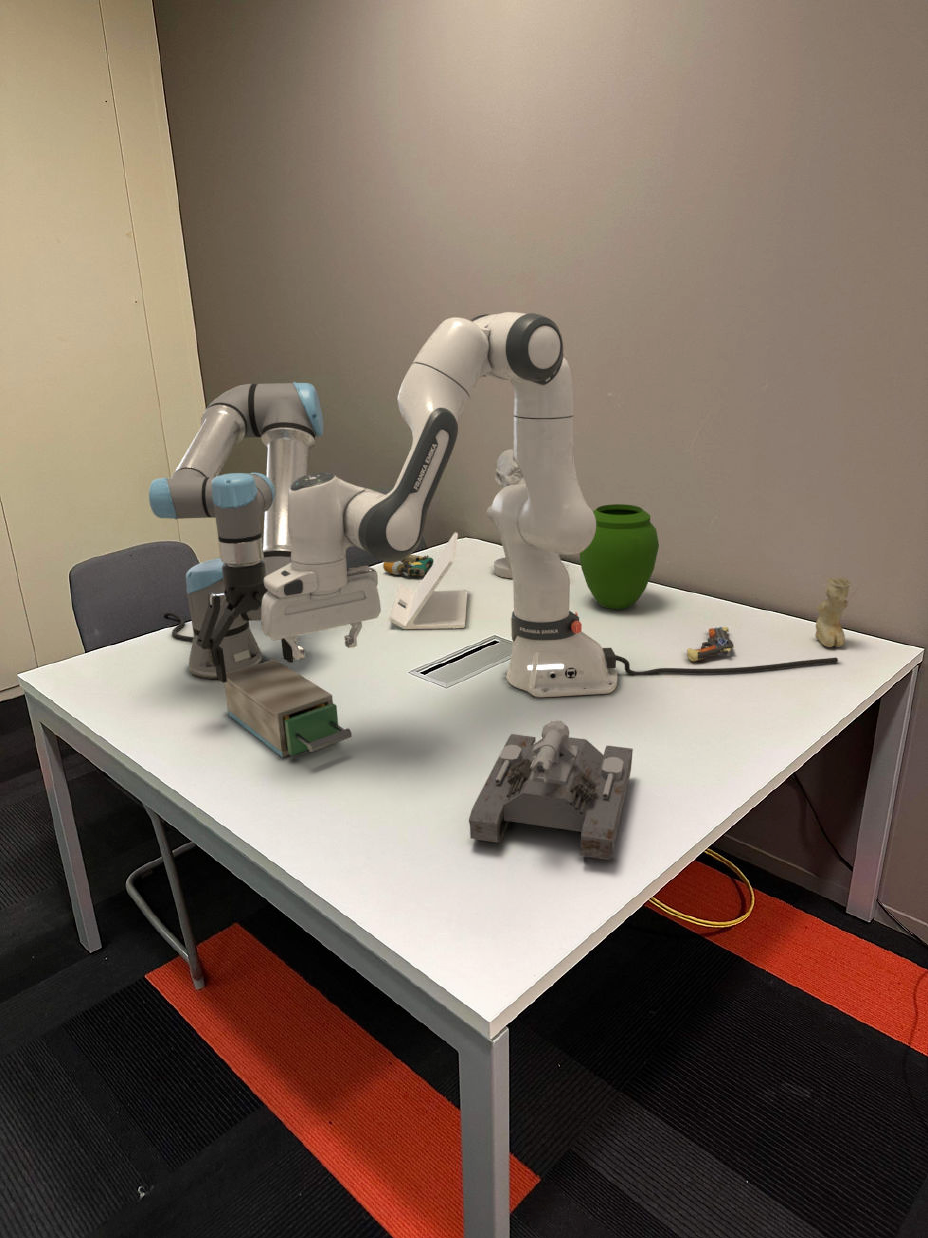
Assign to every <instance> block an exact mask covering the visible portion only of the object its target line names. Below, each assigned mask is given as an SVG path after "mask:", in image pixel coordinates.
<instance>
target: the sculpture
mask: <svg viewBox="0 0 928 1238" xmlns="http://www.w3.org/2000/svg"><path fill="white" fill-rule="evenodd" d="M826 581H827V586H826V588H825V590H824V593H825V595H826V596H827V598H826V600H824V601H822V602H821V603H820V604H819V605H818V606H817V609H816V610H817V612H818V614H819V616H818V617H817V619H816V623H815V630H816V631H815V634H814V635H815V639H817V640H819V642H820V643H821V644H822V645H823V646H825V647H827V648H832V647H834V646H835V647H843V646H844V645H845V643H846V642H845V641H846V636H845V632H844V630H843V626H842V624H841V622H840V621H841V617H842V615H843V612H844V610H845V609H846V608H847V606H848V604H849V603H848V602H849V601H847V598H848V597H849V592H850V586H851V585H852V582H850V580H848V579H847V578H845V577H841V576H840V577H835V578H831V577H827V578H826Z"/></svg>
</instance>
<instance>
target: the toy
mask: <svg viewBox="0 0 928 1238" xmlns="http://www.w3.org/2000/svg"><path fill="white" fill-rule="evenodd" d="M536 738H537V737H536V736H532V735H531V736H530V735H523V734H515V733H511V734H510V735H509V736H508V738H507V740H506V742H505V744H504V746H503V748H502V750H501V751H500V753H499V755H498V757H497V760H496V761H495V764H494V765H493V767H492V769H491V771H490V773H489V775H488V777H487V779H486V781H485V783H484V784H483V787H482V788H481V790H480V793H479V795H478V796H477V798H476V800H475V802H474V805H473V806H472V808H471V811H470V814H469V816H468V817H469V818H468V824H469V837H470V840H471V839H472V840H477V841H482V842H489V843H497V844H501V842H502V840H503V838H504V835H505V833H506V831H507V829H508V826H509V824H510V822H512V823H519V824H525V825H532V826H540V827H546V828H552V829H553V828H554V829H560V830H566V831H567V830H568V831H574V832H581V834H580V856H581V857H587V858H593V859H600V860H607V861H610V860H611V854H613V853H614V847H615V843H616V839H617V834H618V829H619V825H620V822H621V817H622V812H623V808H624V803H625V799H626V794H627V790H628V785H629V781H630V776H631V772H632V764H633V752H634V748H631V747H623V746H614V745H606V746H605V747H604V748H605V749H604V752H603V753H602V752H601V751H600V750H599V749H598V748H596V747H595V746H594V745H593V743H592V742H589V740H588V739H586V738H579V737H570V729H569V727H568V726H567V724H566V723H565V722H564V721H562V720H553V719H551V720H550V721H548V723H546V724H544V726H543V727H542V730H541V739H539V740H538V741H537V739H536Z"/></svg>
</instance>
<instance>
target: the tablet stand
mask: <svg viewBox="0 0 928 1238" xmlns="http://www.w3.org/2000/svg"><path fill="white" fill-rule="evenodd" d="M458 537H459V533H458V532H456V531H455V532H453V534H452V535H451V537H450V539H449V540H448V542H447V543H446V544H445V546H444V548H443V549H442V551H441V552H440V554H439V555H438V556H437V558H436V559H435V561H433V564H432V565H431V567H430V568H429V569H428V570H427V573H426V574H425V575H424V577H423V579H422V580H421V581H420V583H419V584H418V585H417V587H416V589H415V590H412V589H410V588H409V587H407V586H406V585H403V584H400V585H399V586H398V589H397V591H396V595H395V598H394V601H393V604H392V607H391V610H390V612H389V613H390V614H389V617H388V621H389V622H391V623H392V624H394V625H396V626H398V627H399V628H401V629H402V630H426V629H427V630H429V629H430V630H431V629H435V630H436V629H437V630H438V629H464V628H465V627H466V618H467V617H466V616H467V605H468V591H467V590H436V589H437V587H438V585H440V582H441V581H442V580H443V578H444V577H445V575H446V574H447V573H448V571H449V570H450V569H451V567H452V566H453V564H454V562H455V558H456V553H457V545H458ZM399 603H400V604H399ZM402 605H403V606H405V607H403V606H402Z"/></svg>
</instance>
